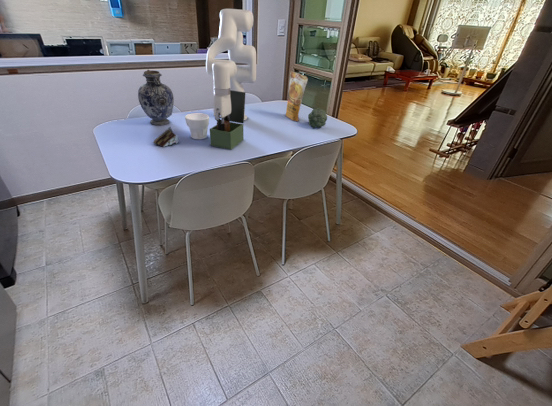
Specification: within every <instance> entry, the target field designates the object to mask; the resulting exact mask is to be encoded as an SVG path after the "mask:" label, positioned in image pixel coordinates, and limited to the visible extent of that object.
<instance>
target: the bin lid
mask: <svg viewBox="0 0 552 406" xmlns="http://www.w3.org/2000/svg"><path fill="white" fill-rule="evenodd" d="M230 98H231V114H230V122H233V123H238V124H245V120H244V109H245V110H246V108H245V107H246V92H239V91H233V90H230ZM224 120H225V119H224Z"/></svg>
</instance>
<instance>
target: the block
mask: <svg viewBox="0 0 552 406" xmlns="http://www.w3.org/2000/svg"><path fill="white" fill-rule="evenodd" d="M230 122H231V121H225V120H224V121H223V123H224V131H226V132H229V131H230ZM216 125H217V130H218V123H217V122H216Z"/></svg>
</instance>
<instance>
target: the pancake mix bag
mask: <svg viewBox="0 0 552 406" xmlns="http://www.w3.org/2000/svg"><path fill="white" fill-rule="evenodd" d="M308 81H309V78H308V76H307V75H304V74H301V73H299V72H296V71H293V70H291V71H289V80H288V91H287V102H286V110H285V111H286V113H285V116H286V118H288V119H289V120H291V121H293V122H299V114H300V110H301V105H302V101H303V98H304V96H305V91H306V87H307V85H308Z"/></svg>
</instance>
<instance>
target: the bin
mask: <svg viewBox="0 0 552 406" xmlns="http://www.w3.org/2000/svg"><path fill="white" fill-rule="evenodd" d="M209 139H210V146H211V147H214V148H215V147H216V148H221V149H225V150H230V151H231V150H233V149H234V148H236V147H237V146H238V145H239V144H241V143H242V142H243V141H244V123H237V122H232V121H230V131H229V132H226V131H220V130H217V124H216V125H214V126H212V127H211V128H209Z"/></svg>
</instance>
